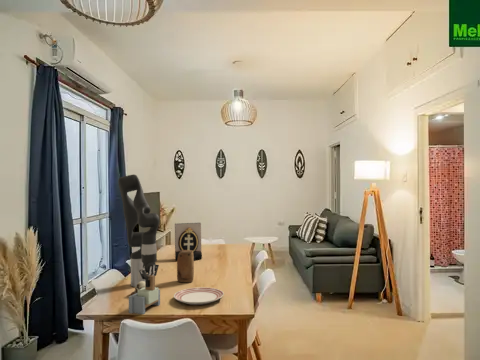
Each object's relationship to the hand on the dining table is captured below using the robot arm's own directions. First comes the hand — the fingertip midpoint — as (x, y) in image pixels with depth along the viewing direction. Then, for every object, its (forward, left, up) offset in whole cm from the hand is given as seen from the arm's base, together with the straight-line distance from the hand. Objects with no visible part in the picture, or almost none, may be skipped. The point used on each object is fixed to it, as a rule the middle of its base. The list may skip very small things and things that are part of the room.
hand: (149, 286), depth 178 cm
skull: (-18, -19, -12) cm, 29 cm away
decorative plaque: (-105, -40, -12) cm, 113 cm away
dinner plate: (-22, +16, -12) cm, 30 cm away
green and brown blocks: (0, -1, -8) cm, 8 cm away
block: (-49, -9, -12) cm, 51 cm away
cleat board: (0, -3, -12) cm, 12 cm away
